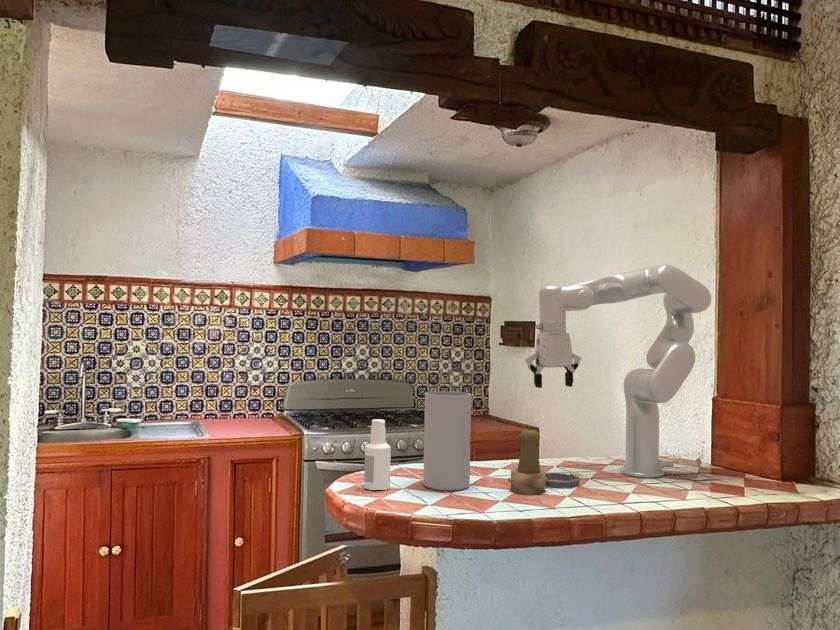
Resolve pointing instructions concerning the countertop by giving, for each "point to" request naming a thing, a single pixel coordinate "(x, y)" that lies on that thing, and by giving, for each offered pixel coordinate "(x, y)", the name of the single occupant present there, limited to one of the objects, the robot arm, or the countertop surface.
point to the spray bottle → (377, 458)
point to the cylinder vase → (447, 440)
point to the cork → (529, 452)
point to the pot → (527, 482)
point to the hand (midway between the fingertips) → (553, 386)
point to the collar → (570, 481)
